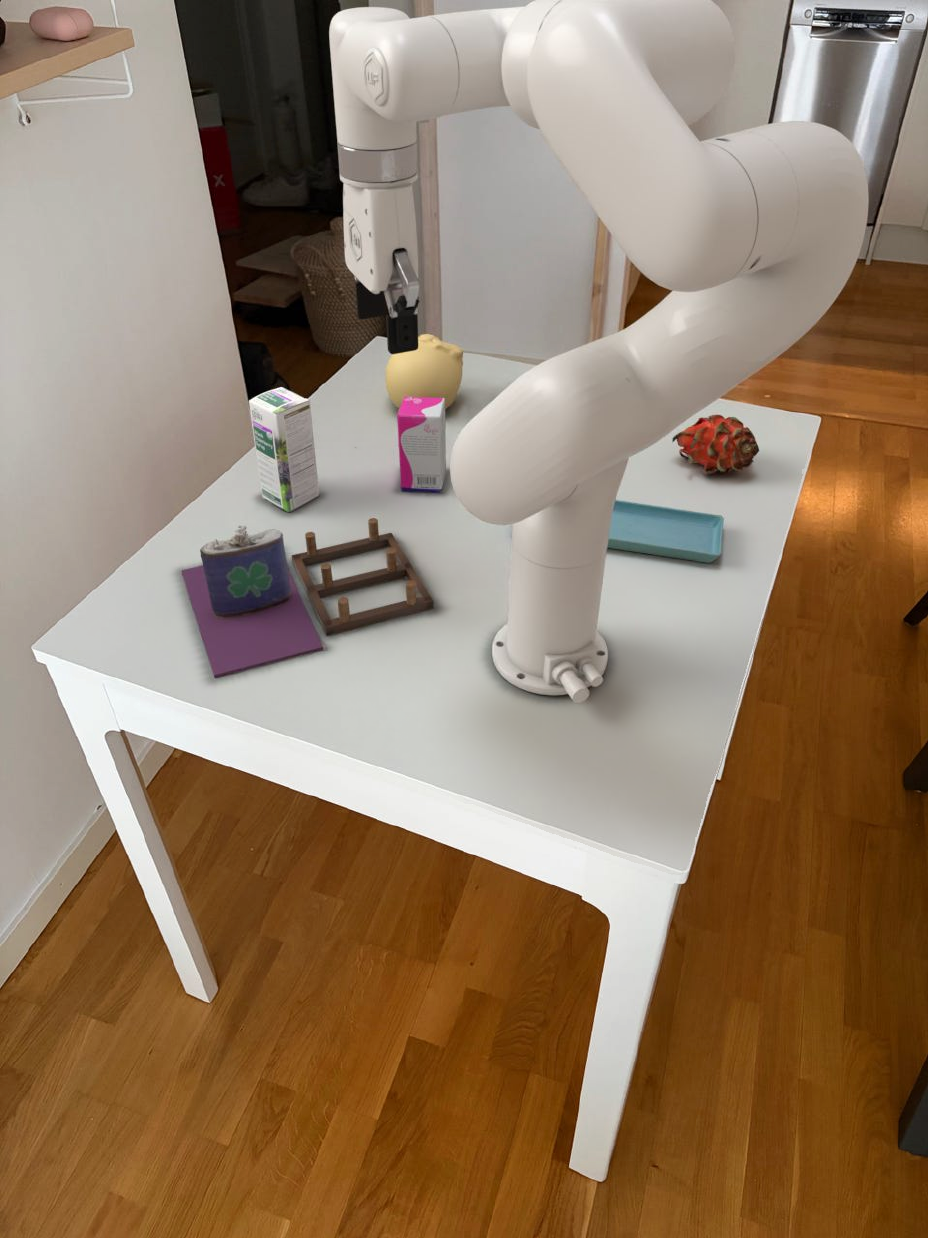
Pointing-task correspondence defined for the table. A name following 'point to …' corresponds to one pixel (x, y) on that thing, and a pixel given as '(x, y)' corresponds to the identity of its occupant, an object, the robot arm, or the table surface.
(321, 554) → the dish rack
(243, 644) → the mat
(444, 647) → the table surface
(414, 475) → the supplement box
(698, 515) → the teal serving tray
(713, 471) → the dragon fruit
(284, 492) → the syrup box
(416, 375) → the sculpture
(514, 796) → the table surface
